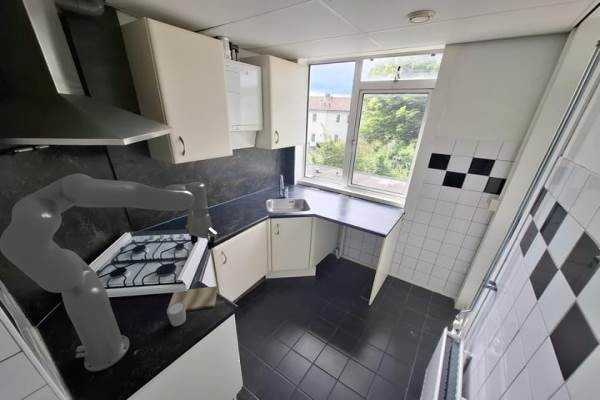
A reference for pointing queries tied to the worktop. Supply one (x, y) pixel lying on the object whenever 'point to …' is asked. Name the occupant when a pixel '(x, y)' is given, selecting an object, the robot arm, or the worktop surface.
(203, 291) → the birch board
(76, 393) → the worktop surface
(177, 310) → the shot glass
